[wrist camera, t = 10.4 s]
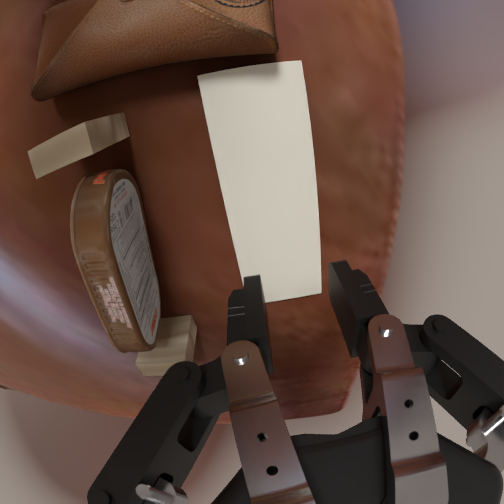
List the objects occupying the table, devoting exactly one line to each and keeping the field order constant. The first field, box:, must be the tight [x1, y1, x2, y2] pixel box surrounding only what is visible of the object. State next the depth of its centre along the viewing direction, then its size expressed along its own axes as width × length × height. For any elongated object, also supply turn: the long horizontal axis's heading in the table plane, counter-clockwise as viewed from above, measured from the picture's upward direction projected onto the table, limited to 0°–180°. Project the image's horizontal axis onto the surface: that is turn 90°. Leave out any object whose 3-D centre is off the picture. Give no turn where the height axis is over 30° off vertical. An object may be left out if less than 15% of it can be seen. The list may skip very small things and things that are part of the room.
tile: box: [197, 61, 321, 303], centre depth 21 cm, size 20×7×1 cm, turn 9°
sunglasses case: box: [31, 0, 279, 101], centre depth 12 cm, size 18×7×7 cm
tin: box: [70, 169, 161, 353], centre depth 19 cm, size 15×3×8 cm, turn 0°
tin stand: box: [28, 112, 197, 376], centre depth 20 cm, size 22×5×6 cm, turn 9°
